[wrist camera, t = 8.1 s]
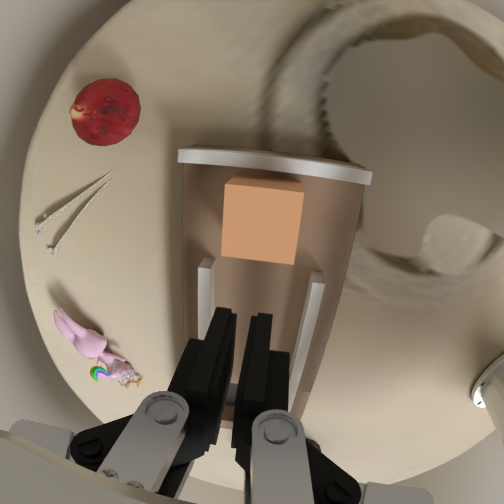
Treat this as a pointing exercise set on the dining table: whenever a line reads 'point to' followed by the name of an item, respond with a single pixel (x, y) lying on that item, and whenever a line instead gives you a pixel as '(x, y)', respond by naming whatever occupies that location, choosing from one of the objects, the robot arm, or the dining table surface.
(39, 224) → the tweezers
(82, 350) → the pink plastic figure
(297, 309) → the trap tube
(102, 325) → the dining table surface
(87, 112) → the onion
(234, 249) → the block
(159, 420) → the robot arm
